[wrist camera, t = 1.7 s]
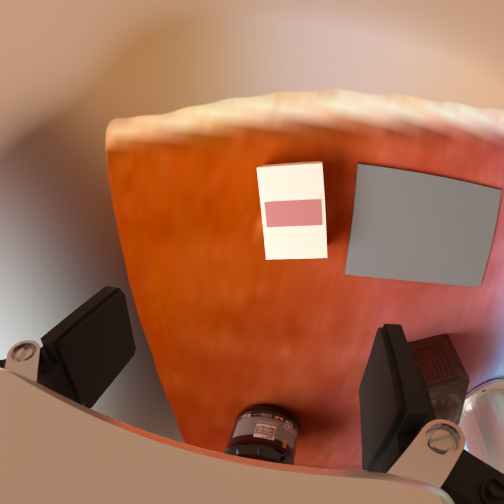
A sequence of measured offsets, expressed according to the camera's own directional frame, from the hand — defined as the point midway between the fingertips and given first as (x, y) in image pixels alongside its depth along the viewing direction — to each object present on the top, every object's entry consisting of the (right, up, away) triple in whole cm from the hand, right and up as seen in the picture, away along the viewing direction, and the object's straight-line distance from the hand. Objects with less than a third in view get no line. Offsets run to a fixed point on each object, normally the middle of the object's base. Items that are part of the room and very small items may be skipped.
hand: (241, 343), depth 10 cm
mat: (+20, +6, +19) cm, 28 cm away
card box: (+5, +8, +22) cm, 24 cm away
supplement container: (+3, -24, +34) cm, 42 cm away
